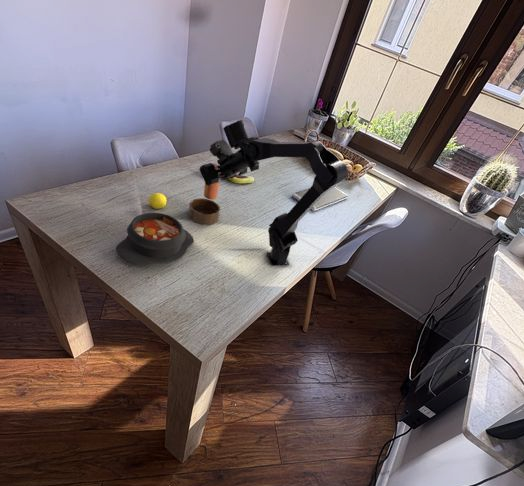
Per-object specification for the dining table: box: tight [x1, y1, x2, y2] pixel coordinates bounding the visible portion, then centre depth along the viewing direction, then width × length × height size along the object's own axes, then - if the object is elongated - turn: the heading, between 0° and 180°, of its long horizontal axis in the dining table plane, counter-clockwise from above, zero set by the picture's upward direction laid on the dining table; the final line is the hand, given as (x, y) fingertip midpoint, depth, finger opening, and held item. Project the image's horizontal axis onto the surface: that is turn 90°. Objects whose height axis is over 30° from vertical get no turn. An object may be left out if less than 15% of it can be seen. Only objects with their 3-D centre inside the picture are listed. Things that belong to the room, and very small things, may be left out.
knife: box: [196, 167, 255, 184], centre depth 156 cm, size 8×3×25 cm
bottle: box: [203, 163, 221, 201], centre depth 126 cm, size 5×5×12 cm
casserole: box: [115, 212, 195, 267], centre depth 111 cm, size 25×19×8 cm
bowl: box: [187, 197, 221, 226], centre depth 130 cm, size 11×11×4 cm
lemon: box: [148, 192, 167, 210], centre depth 128 cm, size 7×5×5 cm
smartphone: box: [291, 186, 349, 212], centre depth 164 cm, size 13×27×2 cm, turn 135°
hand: (209, 178), depth 127 cm, fingers closed on bottle, 5 cm apart
